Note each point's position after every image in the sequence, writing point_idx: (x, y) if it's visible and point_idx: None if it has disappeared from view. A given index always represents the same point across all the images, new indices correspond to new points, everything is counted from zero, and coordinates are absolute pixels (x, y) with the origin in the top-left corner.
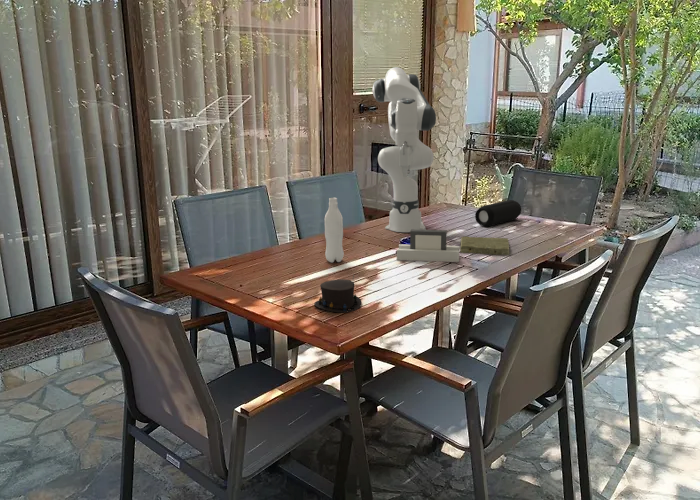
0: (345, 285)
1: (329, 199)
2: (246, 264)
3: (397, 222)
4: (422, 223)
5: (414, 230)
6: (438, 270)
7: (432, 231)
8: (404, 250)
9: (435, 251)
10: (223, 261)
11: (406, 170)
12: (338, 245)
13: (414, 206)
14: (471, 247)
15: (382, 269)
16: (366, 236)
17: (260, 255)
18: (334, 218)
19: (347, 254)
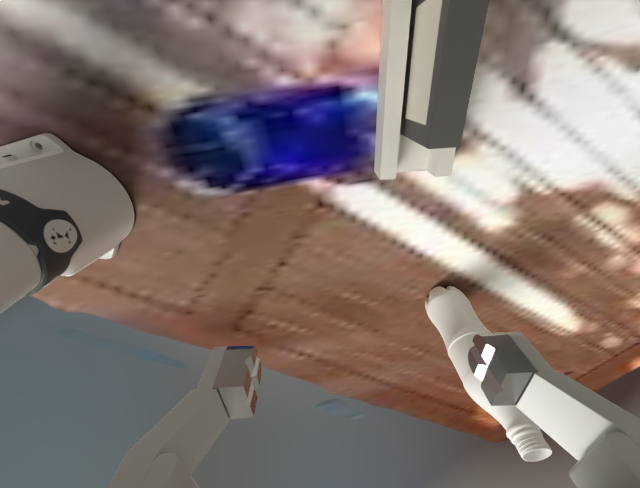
0: None
1: (539, 456)
2: (453, 396)
3: (108, 233)
4: None
5: (449, 131)
6: (572, 4)
7: (476, 35)
8: (454, 151)
9: None
10: (435, 419)
11: (608, 409)
12: (475, 314)
13: (11, 200)
14: None
15: (523, 188)
16: (215, 282)
17: (401, 396)
18: None
19: (388, 285)
